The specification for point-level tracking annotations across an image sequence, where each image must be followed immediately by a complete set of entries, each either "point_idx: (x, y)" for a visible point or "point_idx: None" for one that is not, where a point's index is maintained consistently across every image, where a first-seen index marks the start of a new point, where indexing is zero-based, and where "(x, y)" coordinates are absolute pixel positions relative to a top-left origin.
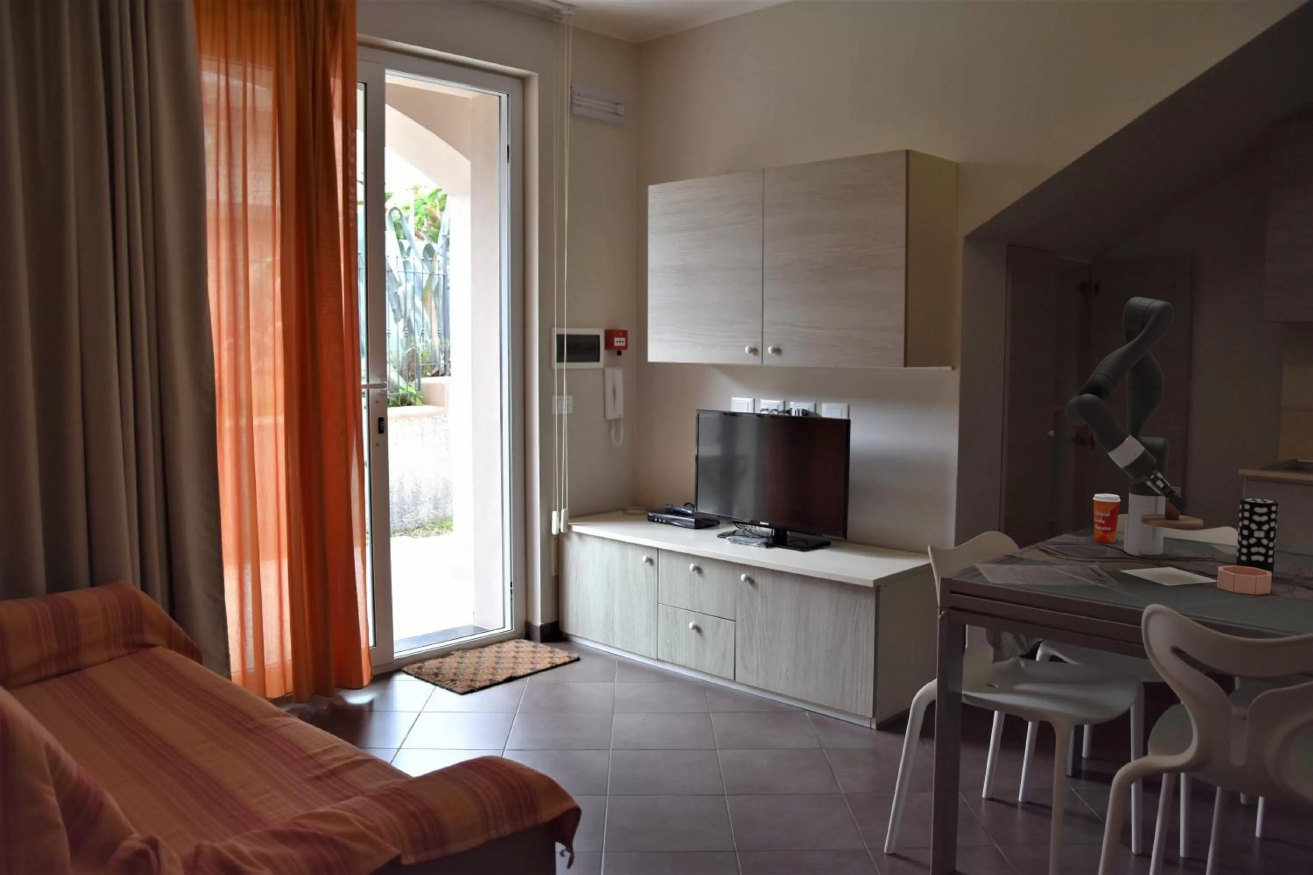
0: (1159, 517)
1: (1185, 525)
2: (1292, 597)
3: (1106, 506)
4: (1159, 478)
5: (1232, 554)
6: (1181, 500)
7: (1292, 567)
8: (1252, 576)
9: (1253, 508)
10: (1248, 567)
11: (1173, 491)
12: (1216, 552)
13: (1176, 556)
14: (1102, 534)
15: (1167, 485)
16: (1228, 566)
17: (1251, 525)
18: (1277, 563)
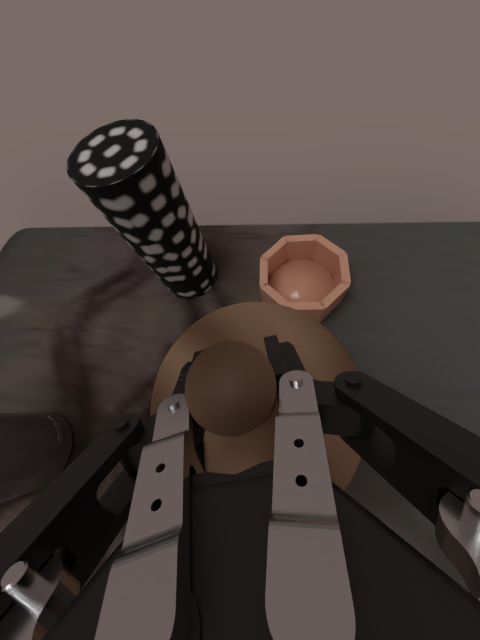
0: (241, 445)
1: (344, 352)
2: (302, 233)
3: None
4: (438, 568)
5: (25, 302)
6: (281, 350)
7: (99, 236)
8: (347, 258)
9: (161, 173)
10: (265, 265)
11: (379, 387)
12: (12, 324)
13: (53, 386)
14: None
15: (476, 442)
16: (274, 293)
17: (180, 214)
18: (78, 251)
